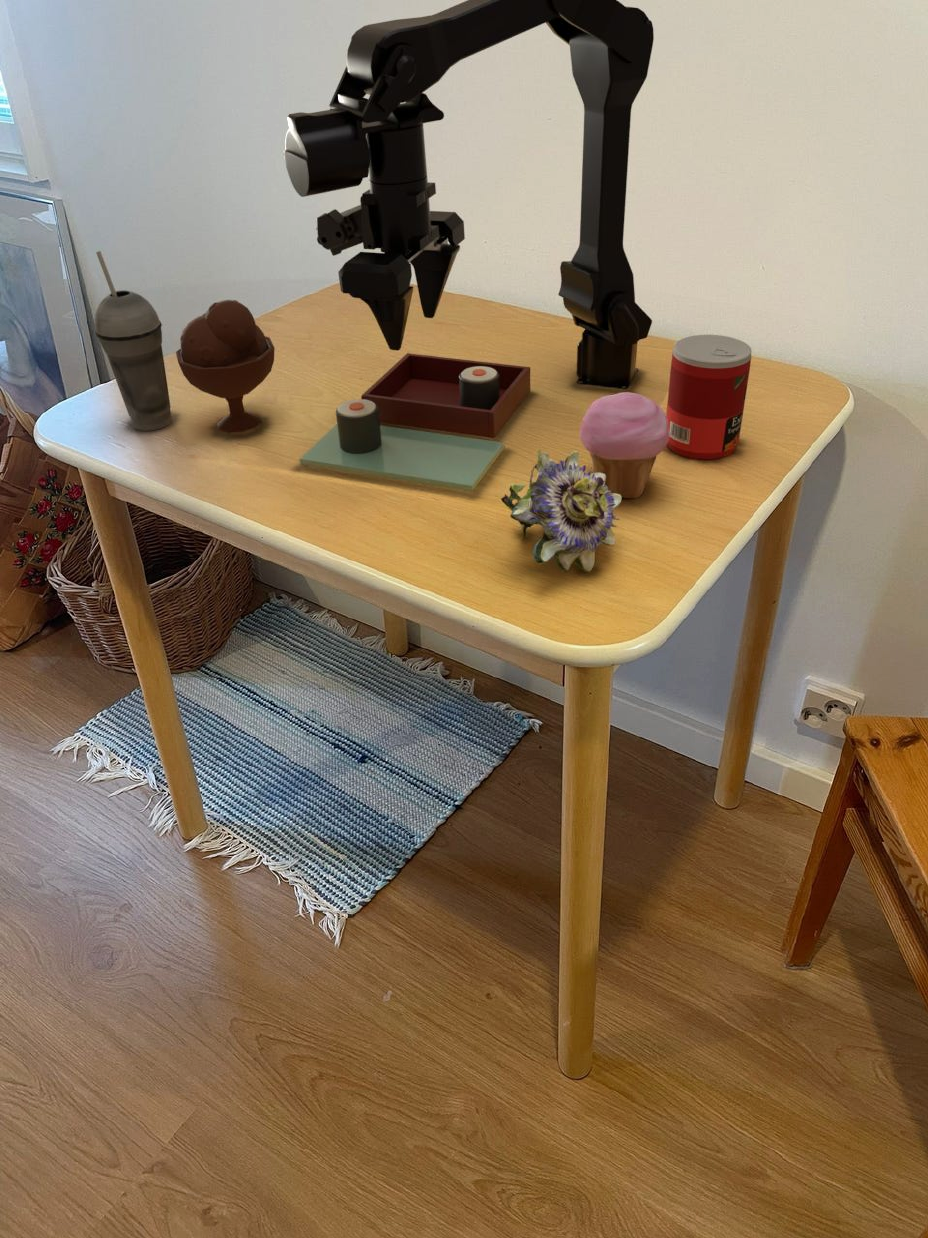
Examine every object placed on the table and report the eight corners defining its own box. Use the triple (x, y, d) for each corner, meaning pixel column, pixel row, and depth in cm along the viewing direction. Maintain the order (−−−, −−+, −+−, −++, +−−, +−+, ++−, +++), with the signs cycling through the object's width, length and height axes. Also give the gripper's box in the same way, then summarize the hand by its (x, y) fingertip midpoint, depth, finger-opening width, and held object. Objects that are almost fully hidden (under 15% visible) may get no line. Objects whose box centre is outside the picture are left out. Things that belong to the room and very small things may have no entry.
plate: (504, 452, 105) (504, 442, 105) (472, 496, 98) (472, 485, 97) (342, 429, 112) (341, 419, 111) (300, 468, 104) (299, 458, 104)
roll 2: (504, 403, 114) (504, 366, 111) (491, 419, 111) (491, 381, 108) (468, 398, 116) (467, 361, 113) (454, 414, 112) (453, 377, 109)
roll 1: (388, 437, 107) (384, 399, 104) (370, 456, 103) (366, 417, 101) (351, 432, 108) (346, 394, 105) (332, 450, 105) (327, 411, 102)
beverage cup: (174, 435, 112) (132, 260, 100) (113, 436, 112) (64, 262, 100) (189, 408, 118) (151, 240, 106) (131, 410, 118) (86, 242, 106)
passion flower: (581, 614, 90) (560, 570, 79) (491, 560, 95) (458, 510, 84) (648, 519, 92) (635, 461, 81) (555, 469, 96) (531, 408, 85)
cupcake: (658, 514, 94) (667, 420, 88) (570, 505, 96) (574, 412, 90) (668, 471, 101) (677, 381, 95) (586, 464, 103) (590, 375, 97)
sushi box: (530, 394, 117) (530, 366, 115) (494, 442, 107) (493, 412, 105) (409, 380, 122) (407, 352, 120) (364, 424, 112) (361, 395, 110)
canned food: (738, 463, 102) (753, 363, 95) (662, 458, 103) (671, 360, 96) (737, 430, 107) (751, 335, 101) (664, 426, 109) (673, 332, 102)
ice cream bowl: (276, 400, 119) (256, 278, 110) (293, 438, 110) (272, 309, 101) (190, 415, 116) (161, 291, 107) (199, 455, 108) (169, 324, 99)
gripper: (364, 152, 102) (381, 297, 112) (277, 200, 89) (305, 360, 98) (461, 154, 99) (470, 304, 108) (386, 205, 85) (404, 370, 95)
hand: (412, 332), depth 103 cm, fingers open, 9 cm apart
